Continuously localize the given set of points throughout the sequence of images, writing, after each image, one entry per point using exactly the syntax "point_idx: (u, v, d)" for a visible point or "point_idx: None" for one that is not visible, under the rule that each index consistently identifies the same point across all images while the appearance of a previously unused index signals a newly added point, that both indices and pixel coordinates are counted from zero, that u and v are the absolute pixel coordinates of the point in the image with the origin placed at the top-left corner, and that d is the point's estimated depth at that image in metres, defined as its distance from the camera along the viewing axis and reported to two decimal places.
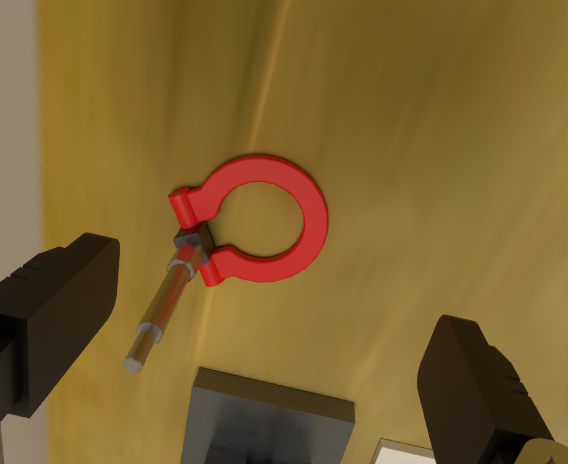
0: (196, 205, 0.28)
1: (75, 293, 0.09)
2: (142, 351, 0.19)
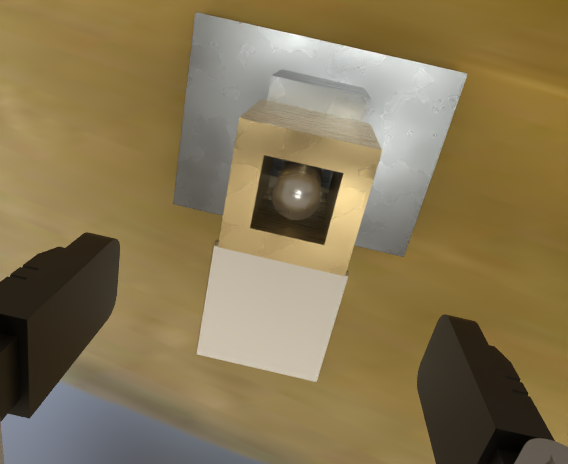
0: None
1: (75, 293, 0.09)
2: None
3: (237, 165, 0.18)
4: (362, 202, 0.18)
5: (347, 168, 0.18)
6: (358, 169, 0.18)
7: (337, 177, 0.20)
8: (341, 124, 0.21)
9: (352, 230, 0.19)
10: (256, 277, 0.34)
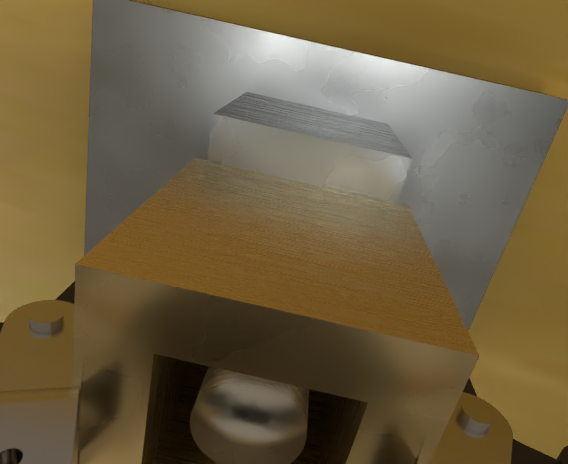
0: None
1: None
2: None
3: (88, 374, 0.07)
4: None
5: (378, 392, 0.07)
6: (409, 396, 0.07)
7: None
8: (355, 226, 0.10)
9: None
10: None
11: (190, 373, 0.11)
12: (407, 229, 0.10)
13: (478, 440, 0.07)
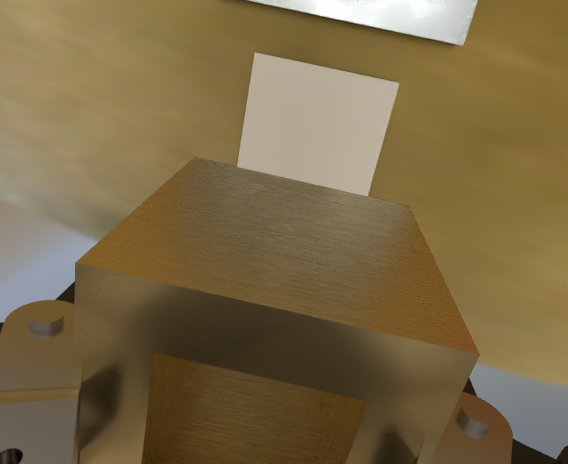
0: None
1: None
2: None
3: (88, 373, 0.07)
4: None
5: (379, 391, 0.07)
6: (409, 395, 0.07)
7: None
8: (355, 225, 0.10)
9: None
10: (299, 90, 0.32)
11: (190, 372, 0.11)
12: (407, 228, 0.10)
13: (478, 440, 0.07)
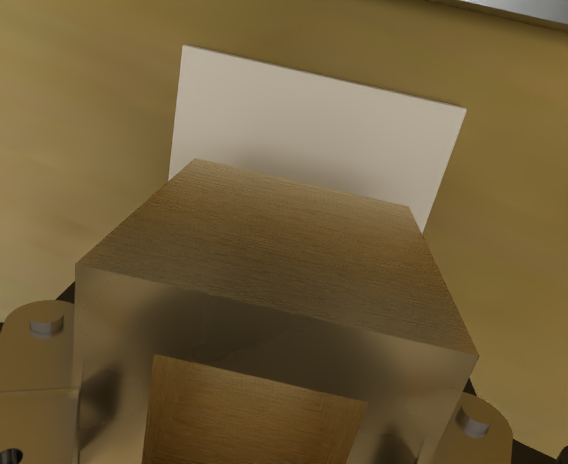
0: None
1: None
2: None
3: (88, 374, 0.07)
4: None
5: (378, 392, 0.07)
6: (408, 396, 0.07)
7: None
8: (355, 226, 0.10)
9: None
10: (271, 119, 0.17)
11: (190, 373, 0.11)
12: (407, 229, 0.10)
13: (478, 440, 0.07)
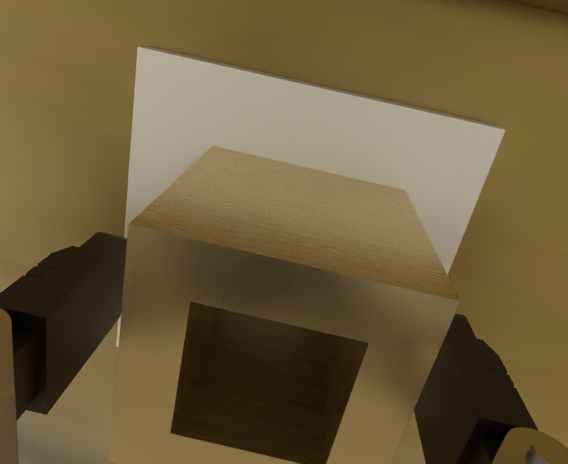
0: None
1: (90, 291, 0.09)
2: None
3: (133, 320, 0.08)
4: (408, 399, 0.08)
5: (377, 334, 0.08)
6: (402, 337, 0.08)
7: None
8: (357, 204, 0.11)
9: (383, 447, 0.09)
10: (254, 141, 0.13)
11: (209, 337, 0.12)
12: (403, 208, 0.12)
13: None
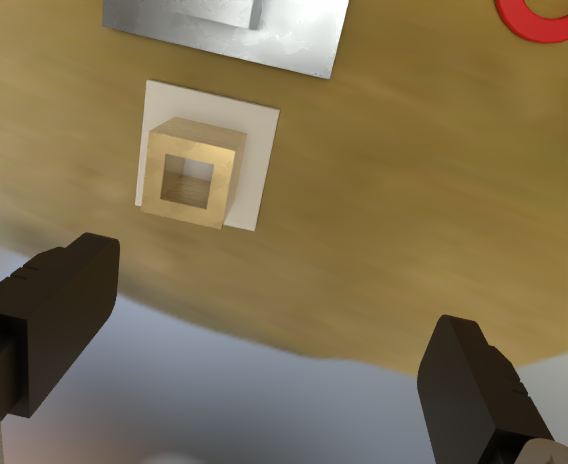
0: None
1: (75, 293, 0.09)
2: None
3: (149, 159, 0.30)
4: (227, 182, 0.30)
5: (216, 161, 0.30)
6: (222, 162, 0.30)
7: None
8: (222, 134, 0.33)
9: (222, 200, 0.31)
10: (190, 114, 0.35)
11: (173, 184, 0.34)
12: (240, 136, 0.33)
13: None
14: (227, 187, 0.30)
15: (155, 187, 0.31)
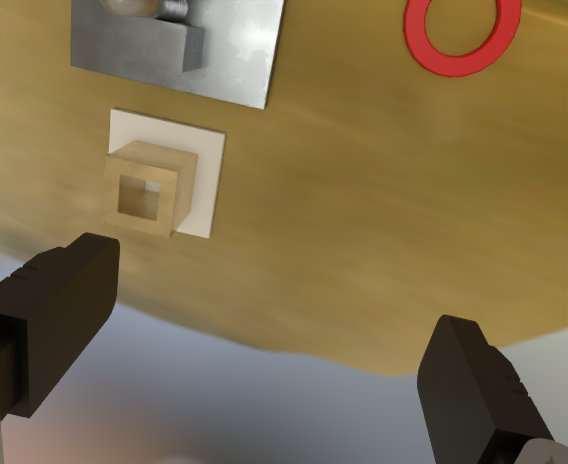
0: None
1: (75, 293, 0.09)
2: None
3: (107, 179, 0.36)
4: (172, 198, 0.36)
5: (162, 181, 0.35)
6: (167, 182, 0.35)
7: None
8: (173, 156, 0.38)
9: (169, 213, 0.36)
10: (149, 138, 0.40)
11: (133, 199, 0.40)
12: (189, 158, 0.39)
13: None
14: (172, 202, 0.36)
15: (113, 202, 0.36)
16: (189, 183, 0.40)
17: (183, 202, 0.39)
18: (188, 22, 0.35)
